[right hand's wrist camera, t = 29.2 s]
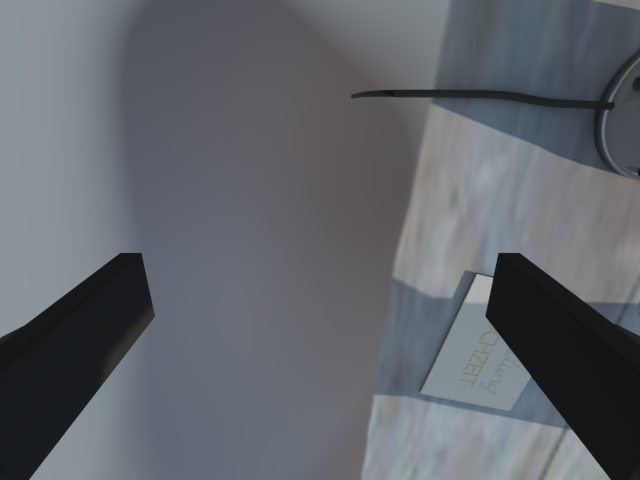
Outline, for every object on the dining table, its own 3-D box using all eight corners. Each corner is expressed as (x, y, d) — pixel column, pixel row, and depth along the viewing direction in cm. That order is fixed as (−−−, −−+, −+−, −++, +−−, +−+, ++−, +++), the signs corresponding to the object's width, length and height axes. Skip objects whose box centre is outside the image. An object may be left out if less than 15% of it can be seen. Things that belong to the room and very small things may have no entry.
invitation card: (477, 274, 45) (580, 298, 46) (476, 273, 45) (579, 297, 46) (420, 394, 52) (510, 411, 54) (419, 392, 53) (509, 410, 54)
